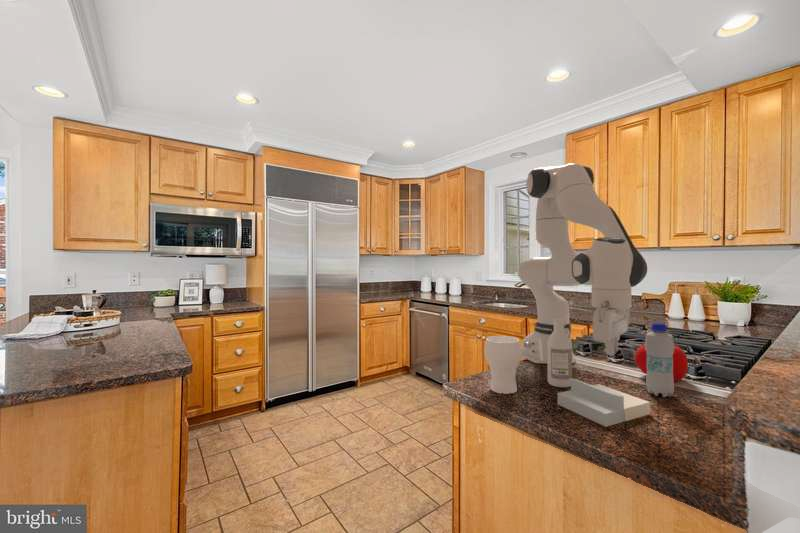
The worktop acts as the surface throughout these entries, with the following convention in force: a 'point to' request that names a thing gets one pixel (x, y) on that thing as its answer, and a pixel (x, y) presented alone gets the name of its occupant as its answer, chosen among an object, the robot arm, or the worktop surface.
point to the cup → (503, 362)
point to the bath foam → (559, 356)
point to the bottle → (659, 361)
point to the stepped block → (593, 403)
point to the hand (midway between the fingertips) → (611, 354)
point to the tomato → (678, 362)
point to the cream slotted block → (631, 404)
